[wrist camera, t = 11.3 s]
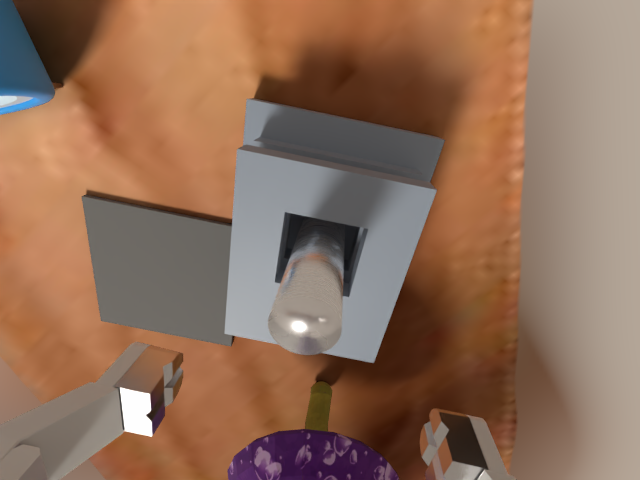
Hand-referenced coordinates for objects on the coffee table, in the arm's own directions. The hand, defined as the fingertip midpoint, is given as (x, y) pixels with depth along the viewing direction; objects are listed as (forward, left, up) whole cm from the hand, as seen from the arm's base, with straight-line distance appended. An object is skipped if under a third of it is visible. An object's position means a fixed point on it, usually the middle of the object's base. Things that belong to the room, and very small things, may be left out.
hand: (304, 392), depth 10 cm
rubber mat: (-8, +12, -14) cm, 20 cm away
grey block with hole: (0, 0, -14) cm, 14 cm away
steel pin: (0, 0, -13) cm, 13 cm away
